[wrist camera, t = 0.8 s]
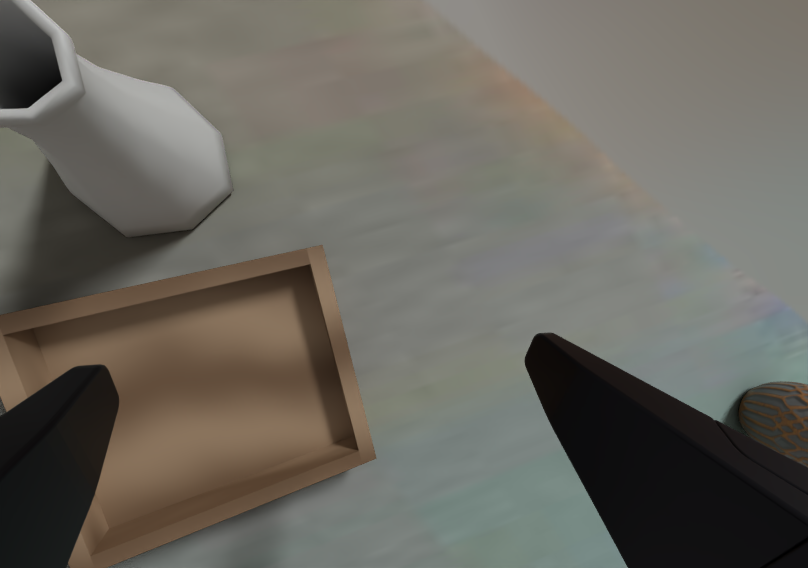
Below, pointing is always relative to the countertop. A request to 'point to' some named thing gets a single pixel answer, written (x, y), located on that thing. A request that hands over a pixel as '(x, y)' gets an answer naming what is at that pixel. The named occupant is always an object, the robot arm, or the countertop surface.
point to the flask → (108, 130)
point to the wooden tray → (201, 394)
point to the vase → (778, 418)
